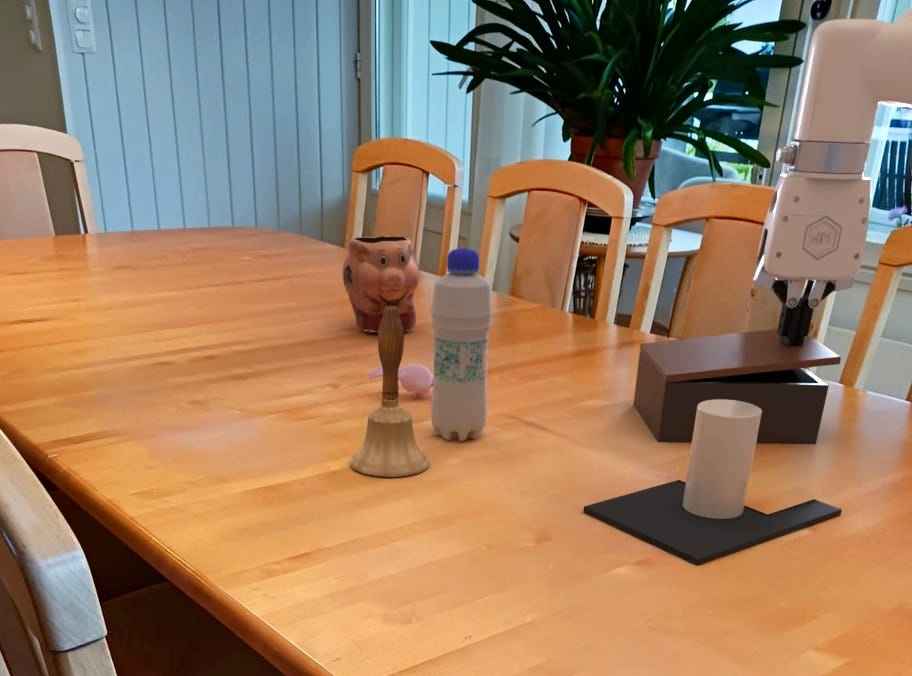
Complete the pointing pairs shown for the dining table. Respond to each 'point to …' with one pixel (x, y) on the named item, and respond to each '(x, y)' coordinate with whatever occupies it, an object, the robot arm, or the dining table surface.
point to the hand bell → (390, 414)
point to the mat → (701, 522)
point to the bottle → (460, 347)
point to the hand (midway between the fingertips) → (790, 342)
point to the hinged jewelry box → (776, 393)
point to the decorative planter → (381, 279)
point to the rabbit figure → (411, 378)
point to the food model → (774, 310)
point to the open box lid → (733, 355)
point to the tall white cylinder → (721, 458)
